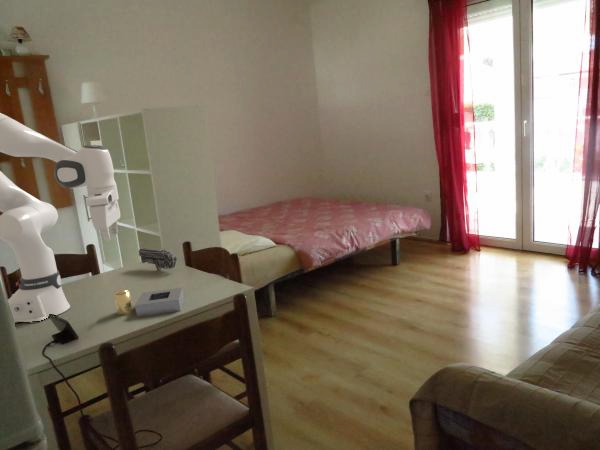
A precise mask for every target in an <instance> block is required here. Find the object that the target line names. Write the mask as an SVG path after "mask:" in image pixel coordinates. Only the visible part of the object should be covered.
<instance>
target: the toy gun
mask: <svg viewBox="0 0 600 450" xmlns="http://www.w3.org/2000/svg"><path fill="white" fill-rule="evenodd" d="M138 256H139V257H140V259H141V263H142V264H145V263H147V264H151V265H155V268H156V270H157V271H160V270H162V269H164V270H168V269H169V270H171V269H174V268H175V266H176V265H177V261H178V258H177V256H176V255H174V254H173V253H171V251H170V250H168V249H167V248H164V249H162V248H161V249H160V248H148V247H141V248H139V250H138Z"/></svg>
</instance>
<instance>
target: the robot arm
mask: <svg viewBox="0 0 600 450" xmlns="http://www.w3.org/2000/svg"><path fill="white" fill-rule="evenodd" d="M0 153H1V154H2V153H3V154H5V155H8V156H12V157H16V158H17V157H18V158H22V157H23V158H24V157H25V158H42V159H43V158H44V159H48V160H51V161H53V162H55V163H56V164H55V166H54V168H53V175H54V178H55V181H56V182H57V184H58V185H59V186H61V187H62V188H65V189H76V188H81V187H86V189H87V198H86V200H85V203H86V204H85V205H86V206H87V207H89V209H88V210H89V214H90V219H91V223H92V225H93V228H94V230H95V231H100V233H101V235H102V237H103V241H104V242H111V241H112V237H111V235H112V236H115V235H117V234H119V233H118V232H119V231H118V221H119V219H121V215H122V214H121V209H120V206H119V205H120V204H119V201H118V200H119V199H120V196H119V192H118V185H117V182H116V180H115V176H114V175H115V171H114V170H115V169H114V163H113V160H112V156H111V154H110V151H109V149H108V148H107V147H105V146H104V145H98V144H92V145H91V144H88V145H83V146H81V147H80V149H79V150H78V151H77V150H76V149H73V148H71V147H69V146H67V145H65V144H62V143H61V142H58V141H56V140H55V139H53V138H50V137H48V136H45V135H43V134H42V133H40V132H37V131H36V130H33V129H32V128H30V127H28V126H26V125H24V124H23V123H21V122H19V121H17V120H16V119H13V118H12V117H10V116H8V115H6V114H4V113H1V112H0ZM0 212H1V213H2V214H0V240H1V241H3V242H5V243H7V244H8V246H10V248H11V249H12V251H13V253H14V254H15V256H16V259H17V261H18V266H19V270H20V273H21V276H20V278H19V279H17V281H16V282H15V284H16V285H15V286H16V287H17V286H18V289H17V290H16V291H15V292H14V293H13V294H12V295H11V296H10V298H8V299H7V301H8V303H9V306H10V309H11V312H12V315H13V318H14V321H24V322H30V323H33V322H32V321H40V322H42V321H41V320H43V321H45V320H47V319H49V318H48V316H49V314H54V315H56V316H58V315H60V314H62V313H65V312H67V311H68V310H69V309H70V308H71V304H70V303H69V302H68V300H67V297H66V295H65V293H64V290H63V288H62V278H61V275H60V270H58V268H57V263H56V259H55V254H54V251H53V249H52V248H51V247H49V246H47V245H46V243H45V242H44V240H43V238H42V235H41V234H42V233H43V234H44V233H46V232H48V231H49V230H51V228H53V227H54V226H55V225H56V224H57V221H58V220H59V213H58V211H57V208H56V207H55V206H54V205H52V204H51V203H49V202H46V201H42V200H40V199H38V198H36V197H35V196H33V195H31V194H30V193H28V192H27V191H25V190H23V189H21V188H20V187H19V186H17V185H16V184H15V183H14V182H13V181H12V180H11V179H9V178H8V176H7V175H5V173H3V172H2V170H0ZM109 227H110V230H109ZM109 231H110V232H111V233H110V232H109ZM46 318H47V319H46ZM44 319H45V320H44Z"/></svg>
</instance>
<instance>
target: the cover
mask: <svg viewBox="0 0 600 450" xmlns="http://www.w3.org/2000/svg"><path fill="white" fill-rule="evenodd" d="M113 297H114V302H115V303H114V304H115V309H116V313H117V315H119V316H126V315H129V314H131V313H133V312H134V308H133V303H132V297H131V291H130V290H129V289H127V288H120V289H117V290H115V291H114V293H113Z"/></svg>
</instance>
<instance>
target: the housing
mask: <svg viewBox="0 0 600 450" xmlns="http://www.w3.org/2000/svg"><path fill="white" fill-rule="evenodd" d="M184 300H185V296H184V290H183V287H175V288H168V289H167V288H166V289H162V290H160V289H159V290H154V291H146V292H145V291H144V292H141V293H140V295H139V297H138V299H137V301H136V303H135V304H134V307H135V312H136V317H137V318H139V317H145V316H146V317H147V316H155V315H159V314H160V315H161V314H168V313H169V314H170V313H174V312H181V310H182V307H183V303H184Z"/></svg>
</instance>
